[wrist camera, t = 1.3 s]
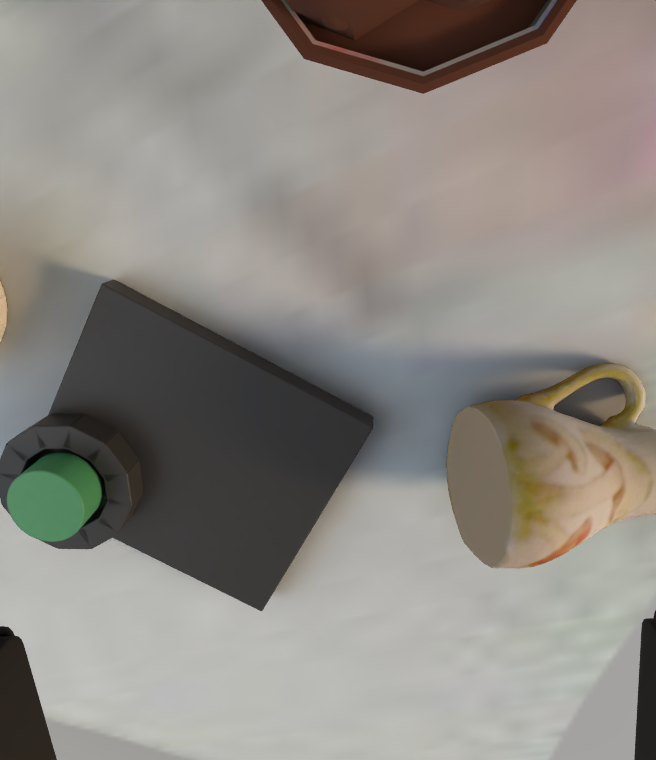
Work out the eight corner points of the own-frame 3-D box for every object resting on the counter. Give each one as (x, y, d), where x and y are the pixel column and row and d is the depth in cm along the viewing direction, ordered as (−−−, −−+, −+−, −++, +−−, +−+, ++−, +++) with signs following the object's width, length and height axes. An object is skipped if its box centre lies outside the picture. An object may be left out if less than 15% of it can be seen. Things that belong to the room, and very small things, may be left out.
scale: (13, 483, 33) (-21, 511, 30) (99, 271, 29) (69, 280, 26) (260, 605, 34) (249, 643, 31) (373, 416, 30) (373, 440, 27)
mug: (661, 512, 31) (623, 667, 24) (475, 442, 35) (395, 555, 28) (717, 386, 27) (693, 524, 20) (500, 324, 31) (414, 419, 24)
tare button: (20, 498, 30) (-5, 519, 28) (45, 438, 29) (20, 457, 27) (87, 531, 30) (67, 555, 28) (114, 473, 29) (95, 494, 27)
